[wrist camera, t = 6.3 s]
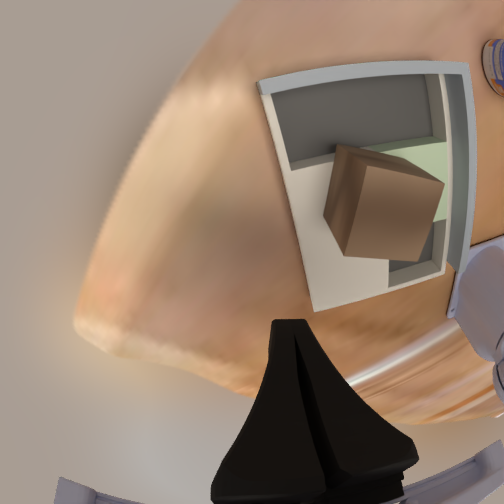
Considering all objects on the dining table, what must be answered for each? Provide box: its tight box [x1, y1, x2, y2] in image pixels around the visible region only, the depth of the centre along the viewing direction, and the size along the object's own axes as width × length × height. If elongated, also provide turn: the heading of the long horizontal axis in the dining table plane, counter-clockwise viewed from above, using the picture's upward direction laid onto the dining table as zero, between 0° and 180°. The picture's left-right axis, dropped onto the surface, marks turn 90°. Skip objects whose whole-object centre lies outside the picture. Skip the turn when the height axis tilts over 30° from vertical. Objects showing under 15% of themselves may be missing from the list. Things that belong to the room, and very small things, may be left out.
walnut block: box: [323, 144, 445, 262], centre depth 15 cm, size 5×5×5 cm
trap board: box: [256, 61, 477, 312], centre depth 17 cm, size 18×13×4 cm
